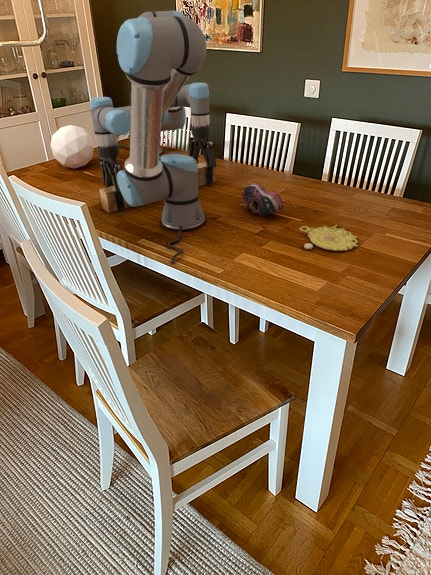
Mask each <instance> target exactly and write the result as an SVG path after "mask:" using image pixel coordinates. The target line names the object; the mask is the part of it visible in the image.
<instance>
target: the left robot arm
mask: <svg viewBox="0 0 431 575" xmlns="http://www.w3.org/2000/svg"><path fill="white" fill-rule="evenodd" d="M174 16H183V17H185V15H184V13H183V12H182V11H181V10H161V11H160V10H159V11H145V12H144V13H142V14H140V15H139V16H137V18H139V17H145V18H151V17H174ZM185 107H190V108H189V109H190V125H191V127H190V128H191V136H190V137H189V138H188V141H189V148H188V156H190V157H192V158H194V159H195V160H196V163H197V164H198V163H200V162H199V156H200V154H201V153H202V155H203V157H204V160H205V161H206V164H207V168H206V179H207V184H206V185H209V184H212V183H214V182H213V167H215V168H217V160H216V154H215V142H214V141H210V139H209V136H210V135H211V125H210V124H211V123H210V122H211V118H210V117H211V116H210V114H211V113H210V90H209V85H208V83H206V82H192V83H190V84H184V86H183V87H182V88H181V90H180V91H179V93H178V94H177V96H176V97H175V99H174V100H173V102H172V103H171V105H170V106H169V108H168V109H167V110H168V120H167V122H166V123H165V124H164V125H161V132H168V131H177V130H182V129H183V128H184V126H185V124H186V119H187V114H186V108H185ZM118 146H119V147H122V148H124V149H128V150H130V146H126V145H122V144H118ZM162 153H163V149H162V145H160V147H159V156H160V155H161V154H162ZM205 161H204V162H205ZM209 164H210V165H209ZM208 183H209V184H208Z"/></svg>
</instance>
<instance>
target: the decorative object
mask: <svg viewBox="0 0 431 575" xmlns="http://www.w3.org/2000/svg"><path fill="white" fill-rule="evenodd" d="M303 228H304V229H305V230H304V229H303ZM299 231H300V232H303V233H305V234H307V237H308V238H309V240H310V241H311V243H304V244H303V248H304V249H305V250H313V249H314V245H315V246H316V247H318V248H321V249H324V250H328V251H335V252H341V251H348V250H352V249H354V247H356V248H358V247H359V245H358V244H357V243H359V240H357V238H359V237H358V235H353V234H352V231H347V230H346V229H345V228H344V227H342V228H338V224H335V225H333V226H331V227H328V226H327V225H326V224H325V225H323V226H322V227H321V226H317V227H316V228H314V227H309V226H308V225H302V226H300V227H299ZM313 244H314V245H313Z"/></svg>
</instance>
